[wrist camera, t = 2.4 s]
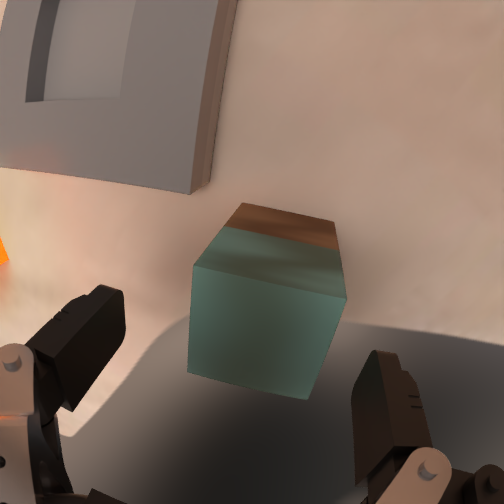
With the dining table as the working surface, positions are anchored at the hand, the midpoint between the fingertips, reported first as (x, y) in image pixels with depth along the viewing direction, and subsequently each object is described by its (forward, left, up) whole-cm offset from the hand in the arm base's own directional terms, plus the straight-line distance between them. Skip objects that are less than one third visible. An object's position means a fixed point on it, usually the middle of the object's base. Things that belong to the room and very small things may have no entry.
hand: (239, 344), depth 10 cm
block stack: (-1, 0, -7) cm, 7 cm away
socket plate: (+10, -10, -7) cm, 16 cm away
